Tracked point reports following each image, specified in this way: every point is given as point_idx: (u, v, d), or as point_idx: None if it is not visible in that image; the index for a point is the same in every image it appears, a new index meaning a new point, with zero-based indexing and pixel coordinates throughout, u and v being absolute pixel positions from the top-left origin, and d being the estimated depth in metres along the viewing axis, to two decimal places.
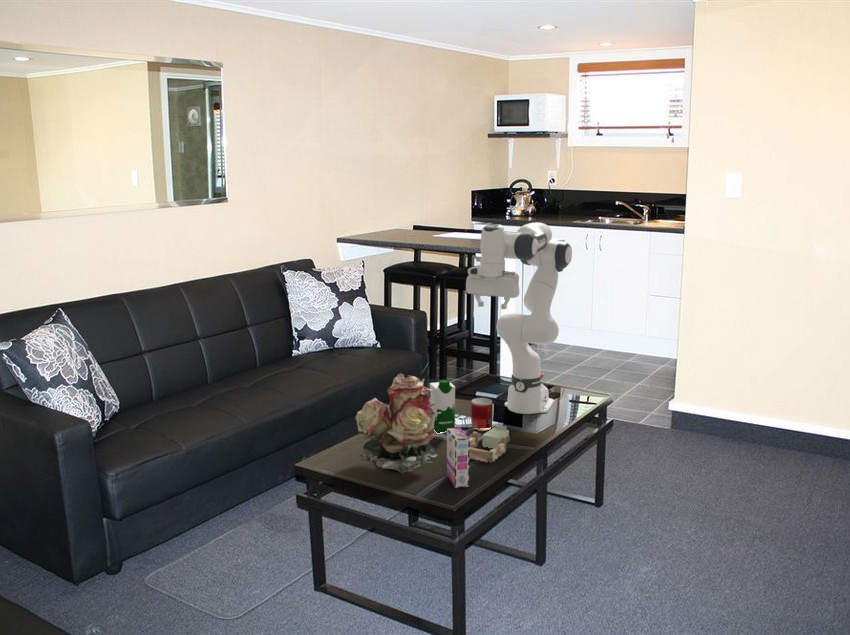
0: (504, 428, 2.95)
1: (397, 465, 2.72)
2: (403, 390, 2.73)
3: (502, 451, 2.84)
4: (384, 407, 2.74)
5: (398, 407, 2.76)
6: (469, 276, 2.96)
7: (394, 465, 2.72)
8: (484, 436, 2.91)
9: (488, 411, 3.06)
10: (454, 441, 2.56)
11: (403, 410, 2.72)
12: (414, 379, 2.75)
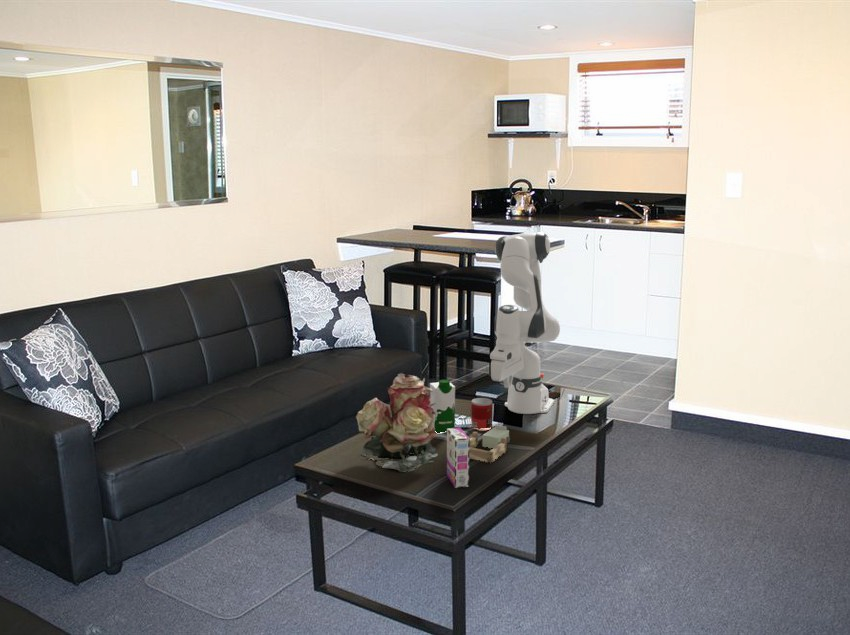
0: (504, 428, 2.95)
1: (398, 465, 2.73)
2: (404, 390, 2.74)
3: (502, 451, 2.84)
4: (385, 407, 2.74)
5: (399, 407, 2.77)
6: (504, 363, 2.88)
7: (395, 465, 2.73)
8: (484, 436, 2.91)
9: (488, 411, 3.06)
10: (454, 441, 2.56)
11: (404, 410, 2.72)
12: (415, 379, 2.75)
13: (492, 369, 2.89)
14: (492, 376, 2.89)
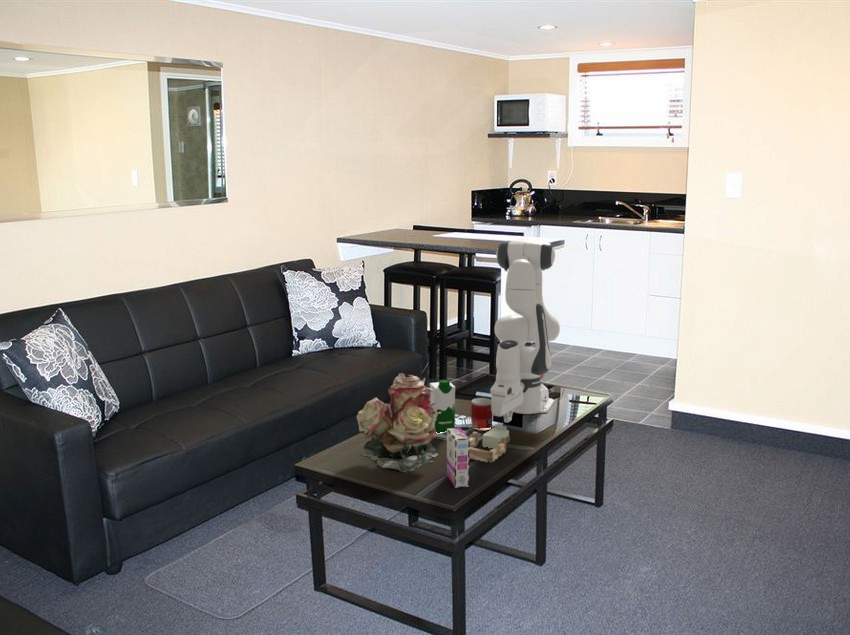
0: (504, 428, 2.95)
1: (398, 464, 2.73)
2: (404, 389, 2.74)
3: (502, 451, 2.84)
4: (385, 407, 2.74)
5: (399, 407, 2.77)
6: (504, 398, 2.90)
7: (395, 464, 2.73)
8: (484, 436, 2.91)
9: (488, 411, 3.06)
10: (454, 441, 2.56)
11: (404, 410, 2.72)
12: (415, 379, 2.76)
13: (493, 404, 2.91)
14: (492, 411, 2.91)
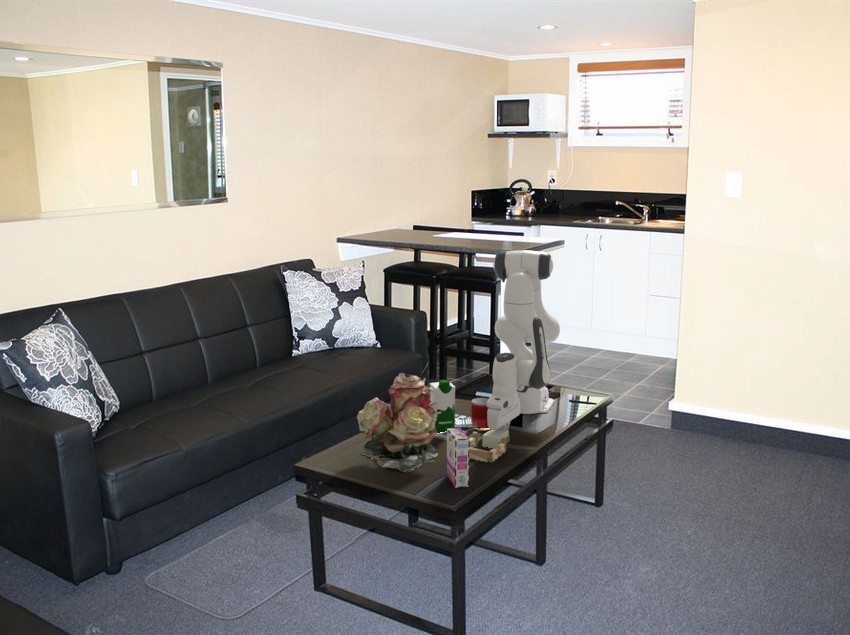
0: (504, 428, 2.95)
1: (399, 464, 2.73)
2: (405, 389, 2.74)
3: (502, 451, 2.84)
4: (385, 406, 2.75)
5: (399, 406, 2.77)
6: (500, 411, 2.89)
7: (396, 464, 2.73)
8: (484, 436, 2.91)
9: None
10: (454, 441, 2.56)
11: (404, 409, 2.73)
12: (415, 378, 2.76)
13: (489, 417, 2.90)
14: (488, 424, 2.91)
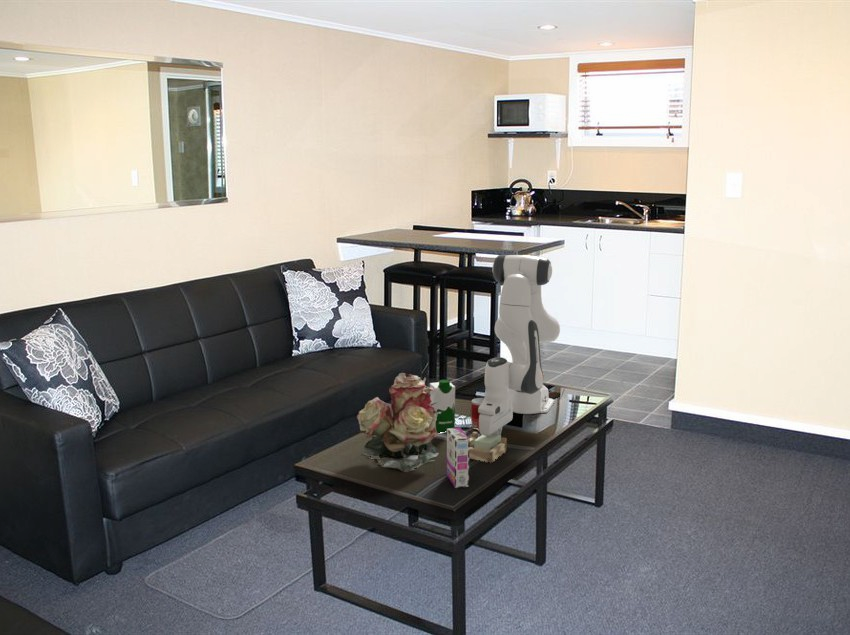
0: (496, 433, 2.90)
1: (399, 464, 2.73)
2: (405, 389, 2.74)
3: (502, 451, 2.84)
4: (386, 406, 2.75)
5: (400, 406, 2.77)
6: (492, 417, 2.84)
7: (396, 464, 2.73)
8: (476, 441, 2.85)
9: None
10: (454, 441, 2.56)
11: (405, 409, 2.73)
12: (416, 378, 2.76)
13: (481, 423, 2.85)
14: (480, 430, 2.85)
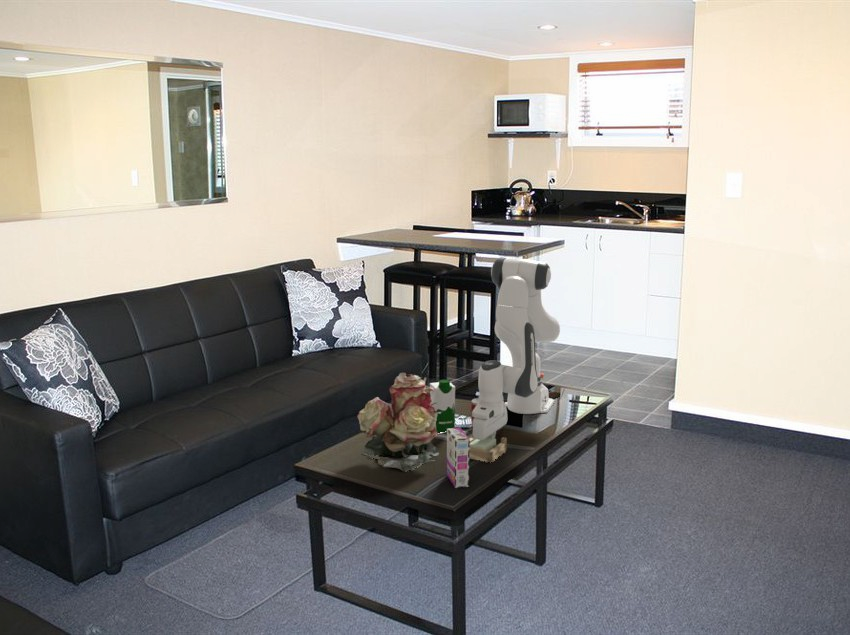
0: (491, 437, 2.87)
1: (400, 464, 2.73)
2: (406, 389, 2.74)
3: (502, 451, 2.84)
4: (386, 406, 2.75)
5: (400, 406, 2.77)
6: (486, 421, 2.80)
7: (397, 464, 2.73)
8: (470, 445, 2.82)
9: None
10: (454, 441, 2.56)
11: (405, 409, 2.73)
12: (416, 378, 2.76)
13: (474, 428, 2.81)
14: (474, 435, 2.81)
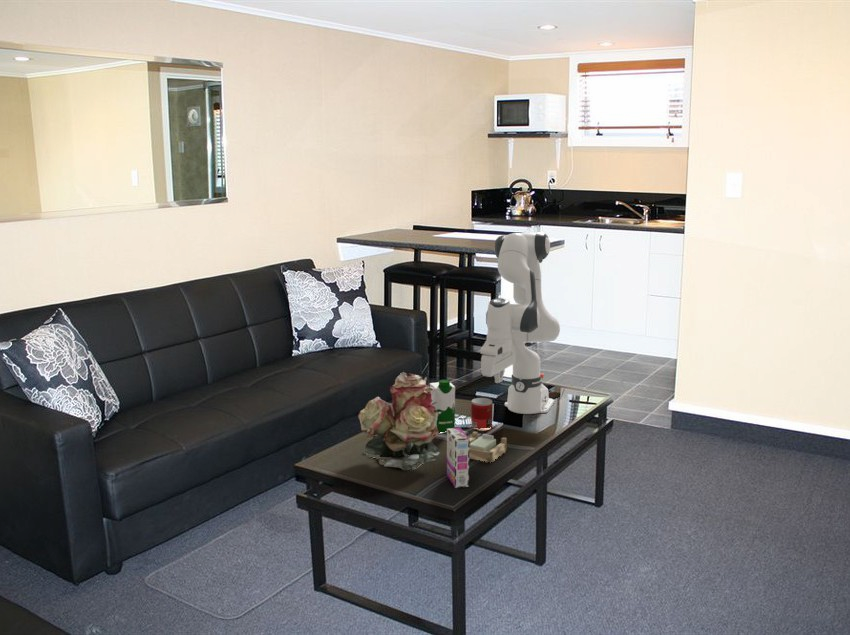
0: (491, 437, 2.87)
1: (401, 463, 2.74)
2: (406, 388, 2.75)
3: (502, 451, 2.84)
4: (387, 406, 2.75)
5: (401, 405, 2.78)
6: (495, 358, 2.81)
7: (398, 463, 2.74)
8: (470, 445, 2.82)
9: (488, 411, 3.06)
10: (454, 441, 2.56)
11: (406, 408, 2.73)
12: (417, 378, 2.77)
13: (483, 364, 2.82)
14: (482, 371, 2.82)
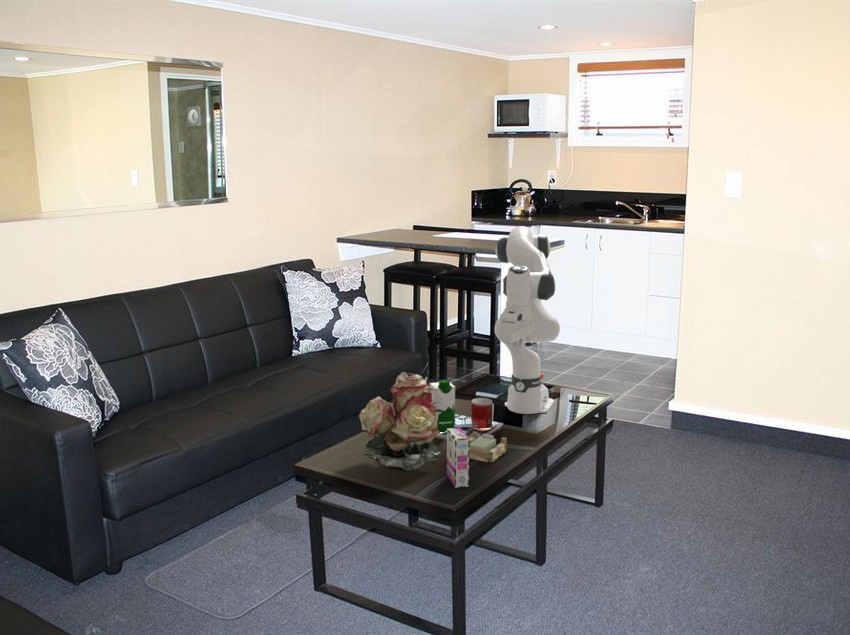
0: (491, 437, 2.87)
1: (401, 463, 2.74)
2: (407, 388, 2.75)
3: (502, 451, 2.84)
4: (388, 405, 2.76)
5: (402, 405, 2.78)
6: (514, 324, 2.80)
7: (398, 463, 2.74)
8: (470, 446, 2.82)
9: (488, 411, 3.06)
10: (454, 441, 2.56)
11: (407, 408, 2.74)
12: (417, 377, 2.77)
13: (502, 331, 2.81)
14: (502, 338, 2.81)
